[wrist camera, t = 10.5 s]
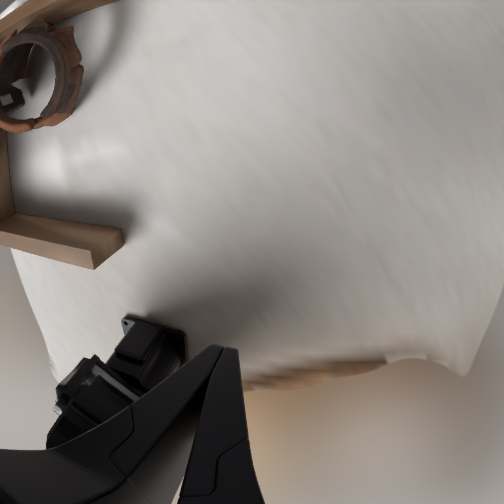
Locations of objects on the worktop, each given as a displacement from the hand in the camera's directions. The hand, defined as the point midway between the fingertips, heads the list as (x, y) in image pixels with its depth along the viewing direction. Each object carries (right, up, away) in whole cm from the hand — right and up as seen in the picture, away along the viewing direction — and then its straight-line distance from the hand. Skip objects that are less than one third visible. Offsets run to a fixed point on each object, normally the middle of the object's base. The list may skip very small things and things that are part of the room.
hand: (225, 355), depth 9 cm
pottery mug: (-16, +18, +9) cm, 25 cm away
